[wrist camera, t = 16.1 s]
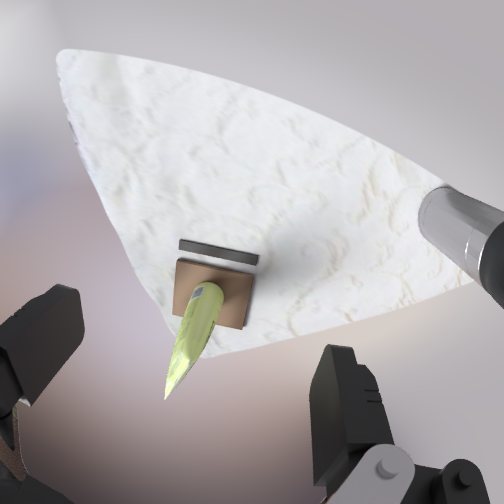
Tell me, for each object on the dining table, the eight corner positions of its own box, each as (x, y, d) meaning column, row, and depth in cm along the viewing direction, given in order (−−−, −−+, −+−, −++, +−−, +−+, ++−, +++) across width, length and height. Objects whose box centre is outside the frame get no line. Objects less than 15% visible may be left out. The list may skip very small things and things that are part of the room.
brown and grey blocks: (258, 255, 46) (257, 257, 45) (242, 327, 51) (242, 329, 50) (180, 239, 46) (178, 241, 45) (173, 311, 51) (172, 314, 50)
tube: (228, 310, 49) (204, 401, 30) (198, 313, 49) (163, 400, 31) (220, 278, 47) (189, 364, 29) (189, 282, 47) (145, 365, 29)
